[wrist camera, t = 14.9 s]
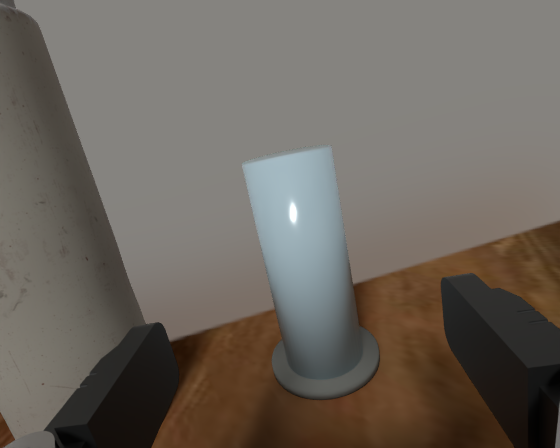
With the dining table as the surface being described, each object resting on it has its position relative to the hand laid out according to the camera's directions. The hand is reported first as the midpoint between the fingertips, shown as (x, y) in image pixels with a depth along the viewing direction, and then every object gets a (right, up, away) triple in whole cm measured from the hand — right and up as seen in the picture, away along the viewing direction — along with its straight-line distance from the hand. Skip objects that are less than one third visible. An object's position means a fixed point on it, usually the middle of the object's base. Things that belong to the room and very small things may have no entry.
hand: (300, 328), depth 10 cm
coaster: (+2, -6, +13) cm, 15 cm away
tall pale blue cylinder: (+2, -5, +13) cm, 14 cm away
